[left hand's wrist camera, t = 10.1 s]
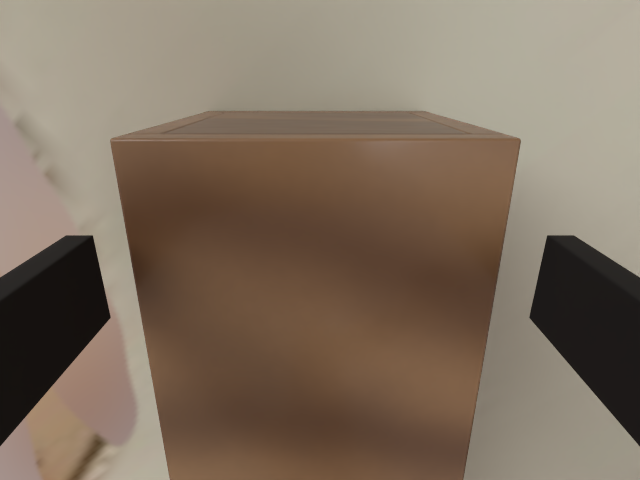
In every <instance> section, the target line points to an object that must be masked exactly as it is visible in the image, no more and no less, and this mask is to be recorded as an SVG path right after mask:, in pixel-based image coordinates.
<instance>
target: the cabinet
mask: <svg viewBox="0 0 640 480" xmlns="http://www.w3.org/2000/svg"><path fill="white" fill-rule="evenodd" d="M110 142H111V148H112V154H113V159H114V165H115V171H116V176H117V182H118V188H119V193H120V199H121V205H122V210H123V216H124V222H125V227H126V233H127V239H128V244H129V250H130V256H131V261H132V267H133V273H134V278H135V284H136V290H137V295H138V301H139V307H140V312H141V318H142V324H143V329H144V335H145V341H146V346H147V352H148V358H149V363H150V369H151V375H152V380H153V386H154V392H155V397H156V403H157V409H158V414H159V420H160V426H161V431H162V437H163V443H164V449H165V454H166V460H167V466H168V471H169V477H170V480H463V477H464V471H465V465H466V460H467V454H468V448H469V442H470V436H471V430H472V424H473V419H474V413H475V407H476V401H477V395H478V389H479V383H480V377H481V372H482V366H483V360H484V354H485V348H486V342H487V336H488V331H489V325H490V319H491V313H492V307H493V301H494V295H495V289H496V284H497V278H498V272H499V266H500V260H501V254H502V248H503V243H504V237H505V231H506V225H507V219H508V213H509V207H510V202H511V196H512V190H513V184H514V178H515V172H516V166H517V160H518V155H519V149H520V143H521V140H520V139H519V138H516V137H512V136H509V135H505V134H502V133H499V132H495V131H492V130H488V129H485V128H481V127H478V126H474V125H471V124H467V123H464V122H460V121H457V120H453V119H450V118H446V117H443V116H439V115H436V114H432V113H429V112H426V111H207V112H204V113H201V114H198V115H194V116H190V117H187V118H183V119H180V120H176V121H172V122H169V123H165V124H162V125H158V126H154V127H151V128H147V129H144V130H140V131H136V132H133V133H129V134H126V135H122V136H118V137H115V138H112V139H111V141H110Z"/></svg>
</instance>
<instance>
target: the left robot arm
mask: <svg viewBox="0 0 640 480" xmlns="http://www.w3.org/2000/svg"><path fill="white" fill-rule="evenodd" d="M529 318H530V319H531V320H532V321H533V322H534V324H535V325H536V326H537V327H538V328H539V329H540V331H541V332H542V333H543V334H544V335H545V336H546V338H547V339H548V340H549V341H550V342H551V343H552V344H553V346H554V347H555V348H556V349H557V350H558V351H559V353H560V354H561V355H562V356H563V357H564V358H565V360H566V361H567V362H568V363H569V364H570V365H571V367H572V368H573V369H574V370H575V371H576V372H577V374H578V375H579V376H580V377H581V378H582V379H583V381H584V382H585V383H586V384H587V385H588V386H589V388H590V389H591V390H592V391H593V392H594V393H595V395H596V396H597V397H598V398H599V399H600V400H601V402H602V403H603V404H604V405H605V406H606V407H607V409H608V410H609V411H610V412H611V413H612V414H613V416H614V417H615V418H616V419H617V420H618V421H619V423H620V424H621V425H622V426H623V427H624V428H625V430H626V431H627V432H628V433H629V434H630V435H631V437H632V438H633V439H634V440H635V441H636V442H637V444H638V445H639V446H640V277H638V276H636V275H635V274H633V273H632V272H630V271H629V270H627V269H625V268H624V267H622V266H621V265H619V264H618V263H616V262H614V261H613V260H611V259H610V258H608V257H607V256H605V255H604V254H602V253H600V252H599V251H597V250H596V249H594V248H593V247H591V246H589V245H588V244H586V243H585V242H583V241H582V240H580V239H578V238H577V237H575V236H547V239H546V244H545V248H544V253H543V258H542V262H541V267H540V271H539V276H538V280H537V285H536V290H535V294H534V299H533V303H532V308H531V313H530V317H529ZM109 319H110V313H109V308H108V303H107V299H106V294H105V290H104V285H103V280H102V276H101V271H100V267H99V262H98V258H97V253H96V248H95V244H94V239H93V236H65V237H63V238H62V239H60V240H59V241H57V242H55V243H54V244H52V245H51V246H49V247H48V248H46V249H44V250H43V251H41V252H40V253H38V254H37V255H35V256H33V257H32V258H30V259H29V260H27V261H26V262H24V263H22V264H21V265H19V266H18V267H16V268H15V269H13V270H11V271H10V272H8V273H7V274H5V275H4V276H2V277H0V446H1V445H2V443H3V442H4V441H5V440H6V439H7V438H8V437H9V435H10V434H11V433H12V432H13V431H14V430H15V428H16V427H17V426H18V425H19V424H20V423H21V421H22V420H23V419H24V418H25V417H26V416H27V414H28V413H29V412H30V411H31V410H32V409H33V407H34V406H35V405H36V404H37V403H38V402H39V400H40V399H41V398H42V397H43V396H44V395H45V393H46V392H47V391H48V390H49V389H50V388H51V386H52V385H53V384H54V383H55V382H56V381H57V379H58V378H59V377H60V376H61V375H62V374H63V372H64V371H65V370H66V369H67V368H68V367H69V365H70V364H71V363H72V362H73V361H74V360H75V358H76V357H77V356H78V355H79V354H80V353H81V351H82V350H83V349H84V348H85V347H86V346H87V344H88V343H89V342H90V341H91V340H92V339H93V338H94V336H95V335H96V334H97V333H98V332H99V330H100V329H101V328H102V327H103V326H104V325H105V323H106V322H107V321H108V320H109Z"/></svg>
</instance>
